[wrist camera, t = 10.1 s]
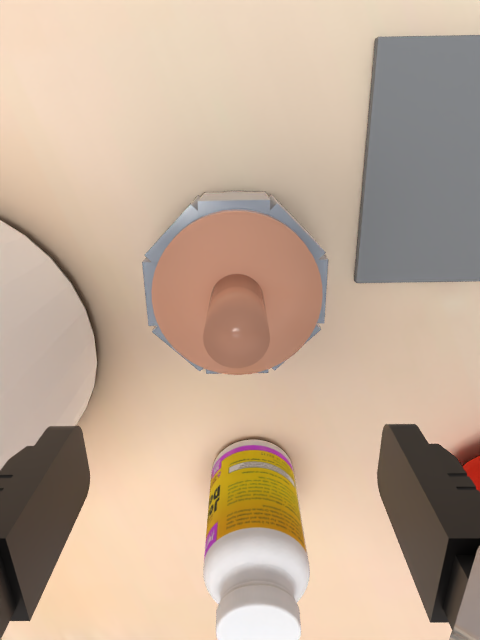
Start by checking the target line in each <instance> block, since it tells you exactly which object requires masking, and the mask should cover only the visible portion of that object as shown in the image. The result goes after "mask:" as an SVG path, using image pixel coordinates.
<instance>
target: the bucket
mask: <svg viewBox="0 0 480 640" xmlns="http://www.w3.org/2000/svg"><path fill="white" fill-rule="evenodd" d="M96 367H97V357H96V348H95V339H94V333H93V330H92V327H91V324H90V320H89V317H88V314H87V311H86V308H85V306H84V304H83V303H82V301H81V299H80V297H79V295H78V294H77V292H76V290H75V288H74V286H73V284H72V283H71V281H70V280H69V279H68V278H67V276H66V275H65V274H64V273H63V271H62V270H61V269H60V268H59V266H58V265H57V264H56V263H55V261H54V260H53V259H52V258H51V257H50V256H49V255H48V254H47V253H45V252H44V251H43V250H42V249H41V248H40V247H39V246H37V245H36V244H35V243H34V242H33V241H32V240H31V239H30V238H28V237H27V236H26V235H24V234H22V233H21V232H19V231H18V230H16V229H14V228H13V227H11V226H10V225H8V224H6V223H5V222H3V221H2V220H0V470H1V469H2V467H3V466H4V465H5V463H6V462H7V461H8V460H9V459H10V458H11V457H12V456H14V455H15V454H17V453H18V452H19V451H21V450H22V449H23V448H25V447H26V446H34V445H35V444H36V443H37V441H38V440H39V438H40V437H41V436H42V434H43V433H44V431H45V430H46V429H47V428H48V427H49V426H76V424H77V423H78V421H79V419H80V418H81V416H82V414H83V413H84V411H85V409H86V407H87V405H88V402H89V399H90V397H91V394H92V391H93V388H94V385H95V376H96Z"/></svg>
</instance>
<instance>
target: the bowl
mask: <svg viewBox="0 0 480 640" xmlns="http://www.w3.org/2000/svg"><path fill="white" fill-rule="evenodd" d="M230 209H245V210H252V211H257V212H260V213H264V214H267V215H269V216H271V217H274V218H276V219H278V220H279V221H281V222H282V223H284V224H286V225H287V226H288V227H290V228H291V229H292V230H293V231H294V232H295V233H296V234H297V235H298V236H299V237H300V238H301V239H302V241H303V242H304V243H305V245H306V246H307V248H308V249H309V251H310V252H311V254H312V255H313V257H314V259H315V262H316V264H317V266H318V269H319V272H320V276H321V281H322V293H323V298H322V307H321V311H320V315H319V319H318V321H317V324H316V326H315V328H314V330H313V332H312V333H311V335H310V337H309V338H308V340H310V339H311V338H312V337H313V336H314V335H315V334H316V333H317V332H319V331H320V330H321V328H320V326H319V324H318V323H324V317H325V302H326V286H327V270H328V259H327V257H326V256H325V255H324V254H325V253H326V252H325V251H324V250H323V249H322V248H321V246H320V245H319V244H318V243H317V242H316V240H315V239H314V238H313V237H312V236H311V235H310V234H309V233H308V232H307V231H306V229H305V228H304V227H303V226H302V225H301V224H300V223H299V222H298V221H297V220H296V219H295V218H294V217H293V216H292V215H291V214H290V213H289V212H288V211H287V210H286V209H285V208H284V207H283V206H282V205H281V204H280V203H279V202H278V201H277V199H276V198H275V197H274V196H273V195H272V194H271V195H270V196H269V197H268V195H267V194H266V192H247V191H224V192H208V193H204V194H203V195H202V196H201V197H200V196H197V197H196V198H195V200H194V201H193V202H192V203H191V204H190V205H189V206H188V207H187V208H186V210H185V211H184V212H183V213H182V214H181V215H180V216H179V217H178V218H177V219H176V221H175V222H174V223H173V224H172V225H171V226H170V227H169V228H168V229H167V231H166V232H165V233H164V234H163V235H162V236H161V237H160V238H159V239H158V241H157V242H156V243H155V244H154V245H153V246H152V247H151V248H150V250H149V251H148V252H147V253H146V254H145V256H146V258H145V260H144V261H143V262H142V265H143V275H144V285H145V295H146V305H147V314H148V324H149V326H155V327H154V329H153V331H152V332H153V333H154V334H155V335H157V336H158V337H159V338H160V339H161V340H163V341H164V342H165V343H166V344H167V345H169V346H170V347H171V348H172V349H173V350H175V349H174V348H173V347H172V345H171V344H170V343H169V342H168V341H167V339H166V338H165V336H164V335H163V333H162V332H161V329H160V327H159V325H158V323H157V321H156V318H155V314H154V311H153V305H152V292H151V291H152V281H153V276H154V272H155V269H156V266H157V264H158V261H159V259H160V257H161V256H162V254H163V252H164V250H165V249H166V248H167V246H168V245H169V244H170V242H171V241H172V240H173V238H174V237H175V236H176V235H177V234H178V233H179V232H180V231H181V230H182V229H183V228H185V227H186V226H187V225H189V224H190V223H191V222H193V221H195V220H197V219H198V218H200V217H202V216H205V215H208V214H210V213H213V212H218V211H222V210H230ZM308 340H307V341H308ZM307 341H306V342H307ZM306 342H305V343H306ZM175 351H176V350H175ZM176 352H177V351H176ZM177 353H178V354H179V355H181V354H180V353H179V352H177ZM181 356H182V355H181ZM182 357H183V356H182ZM183 358H184V359H185V360H187V361H188V362H189V363H190V364H192V365H193V366H194V367H195V368H196V369H198V370H199V371H201V370H202V369H203V368H202V367H200V366H198V365H196V364H194V363H192V362H190V361H189V360H188V359H186V358H185V357H183ZM285 361H286V360H285ZM285 361H284V362H285ZM284 362H282V363H284ZM282 363H281V364H282ZM281 364H279V365H277V366H274V367H272V369H274V370H276V369H277V368H278V367H279V366H280V365H281ZM257 373H268V369H267V370H264V371H261V372H257ZM206 374H218V372H214V371H210V370H207V369H206Z"/></svg>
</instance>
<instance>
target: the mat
mask: <svg viewBox="0 0 480 640" xmlns="http://www.w3.org/2000/svg"><path fill="white" fill-rule="evenodd" d="M354 281H355V282H356V283H392V282H461V281H480V35H461V36H402V37H378V38H376V39H375V47H374V59H373V70H372V82H371V93H370V104H369V116H368V127H367V139H366V150H365V161H364V173H363V184H362V196H361V207H360V218H359V230H358V241H357V253H356V264H355V275H354Z"/></svg>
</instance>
